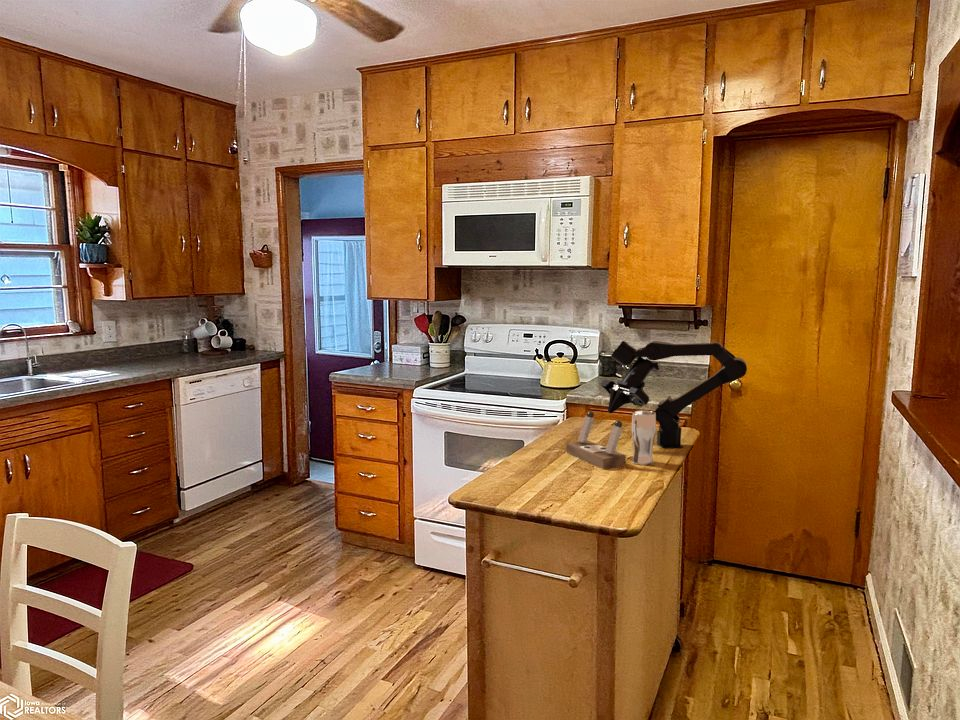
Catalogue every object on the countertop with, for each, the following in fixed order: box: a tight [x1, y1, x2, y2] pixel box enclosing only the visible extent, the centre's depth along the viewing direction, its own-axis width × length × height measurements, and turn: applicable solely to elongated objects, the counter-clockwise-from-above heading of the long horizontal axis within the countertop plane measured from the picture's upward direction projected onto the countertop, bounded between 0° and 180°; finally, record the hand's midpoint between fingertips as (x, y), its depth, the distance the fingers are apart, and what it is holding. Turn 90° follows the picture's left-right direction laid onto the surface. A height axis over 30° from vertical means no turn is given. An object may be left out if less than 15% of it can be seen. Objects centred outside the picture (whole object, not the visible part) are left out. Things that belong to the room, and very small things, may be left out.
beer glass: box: [631, 409, 657, 466], centre depth 191 cm, size 7×7×15 cm
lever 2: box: [605, 420, 623, 454], centre depth 189 cm, size 2×3×10 cm
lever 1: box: [577, 411, 595, 443], centre depth 202 cm, size 2×3×10 cm
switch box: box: [565, 439, 627, 470], centre depth 196 cm, size 8×19×4 cm, turn 26°
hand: (609, 412), depth 207 cm, fingers closed
